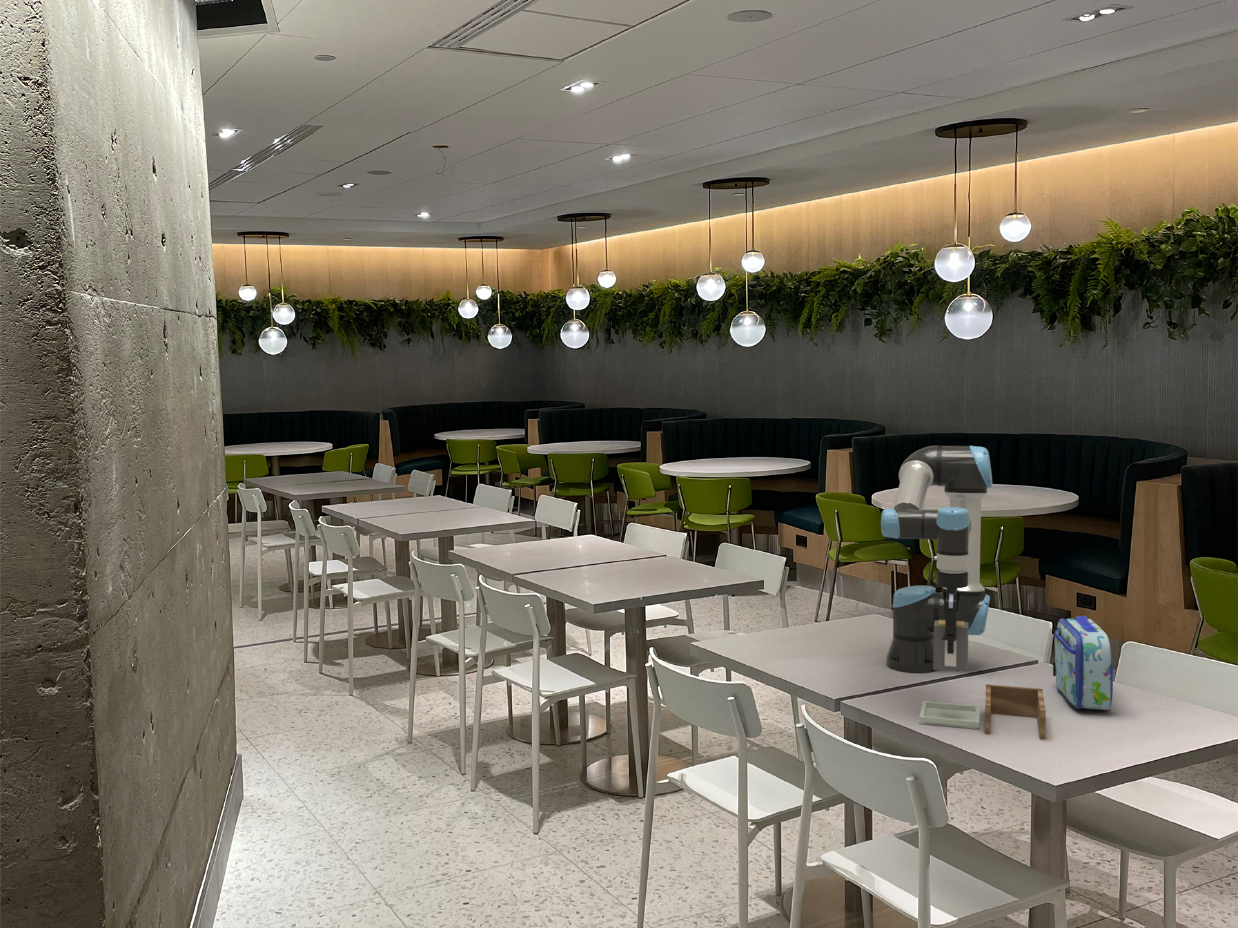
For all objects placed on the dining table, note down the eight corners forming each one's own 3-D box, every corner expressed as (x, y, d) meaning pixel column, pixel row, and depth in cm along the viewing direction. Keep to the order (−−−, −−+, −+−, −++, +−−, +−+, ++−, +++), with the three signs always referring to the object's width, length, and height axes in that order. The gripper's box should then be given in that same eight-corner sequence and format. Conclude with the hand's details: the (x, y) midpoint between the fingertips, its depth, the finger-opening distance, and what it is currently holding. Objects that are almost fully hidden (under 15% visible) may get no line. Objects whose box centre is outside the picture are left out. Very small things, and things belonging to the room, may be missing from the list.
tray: (922, 707, 274) (922, 700, 274) (979, 712, 270) (980, 705, 269) (919, 723, 262) (919, 716, 262) (979, 729, 257) (979, 722, 257)
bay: (985, 711, 271) (985, 684, 270) (1041, 716, 266) (1042, 688, 266) (984, 733, 255) (985, 704, 254) (1045, 739, 250) (1045, 710, 249)
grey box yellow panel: (934, 662, 269) (935, 618, 268) (967, 665, 266) (968, 620, 265) (933, 669, 263) (933, 624, 262) (967, 671, 260) (968, 626, 259)
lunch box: (1049, 684, 292) (1051, 609, 290) (1091, 685, 290) (1093, 610, 288) (1070, 714, 267) (1072, 633, 265) (1115, 717, 265) (1118, 634, 263)
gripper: (938, 562, 272) (937, 651, 274) (934, 576, 255) (933, 671, 257) (969, 564, 270) (967, 653, 272) (967, 578, 252) (965, 673, 254)
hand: (950, 661), depth 264 cm, fingers closed on grey box yellow panel, 6 cm apart
